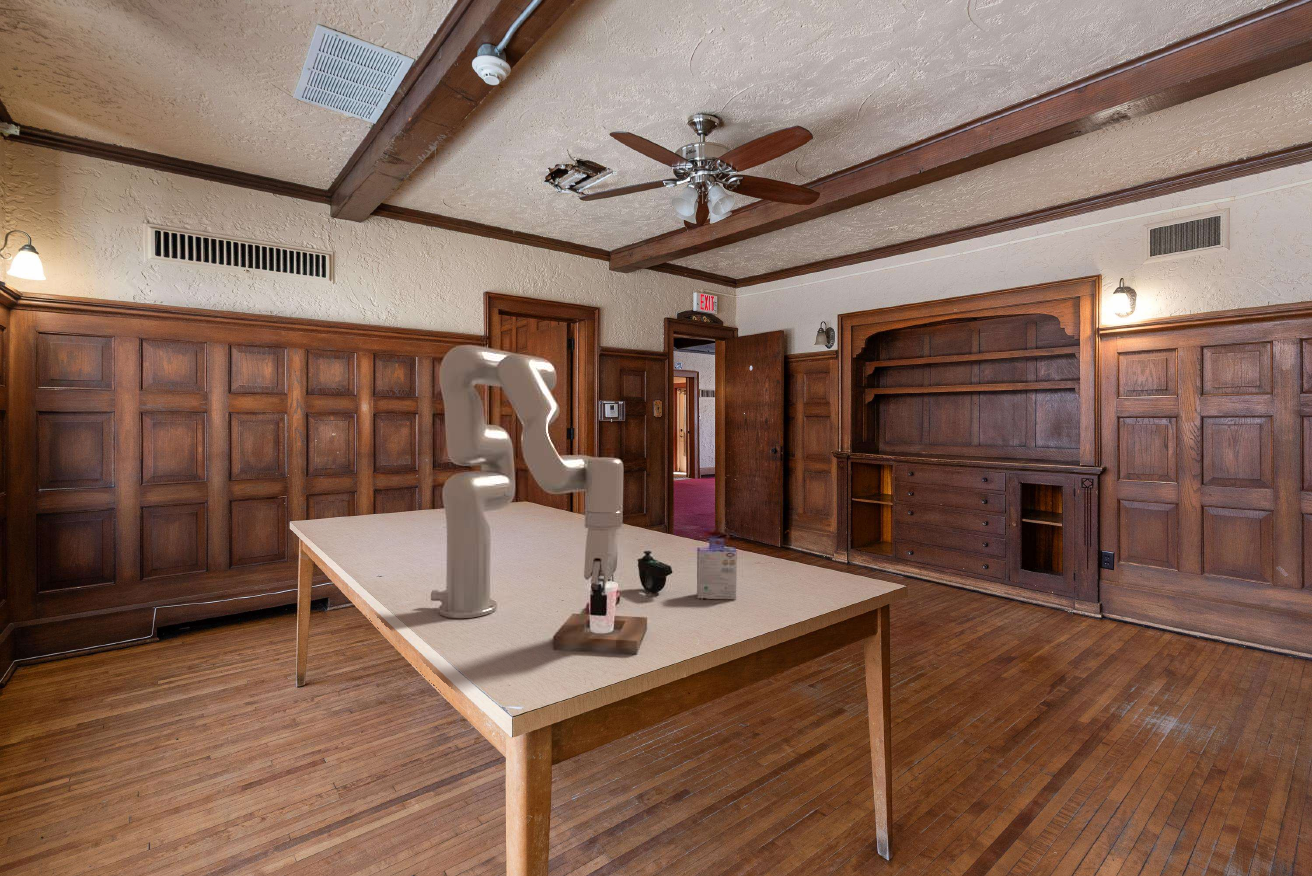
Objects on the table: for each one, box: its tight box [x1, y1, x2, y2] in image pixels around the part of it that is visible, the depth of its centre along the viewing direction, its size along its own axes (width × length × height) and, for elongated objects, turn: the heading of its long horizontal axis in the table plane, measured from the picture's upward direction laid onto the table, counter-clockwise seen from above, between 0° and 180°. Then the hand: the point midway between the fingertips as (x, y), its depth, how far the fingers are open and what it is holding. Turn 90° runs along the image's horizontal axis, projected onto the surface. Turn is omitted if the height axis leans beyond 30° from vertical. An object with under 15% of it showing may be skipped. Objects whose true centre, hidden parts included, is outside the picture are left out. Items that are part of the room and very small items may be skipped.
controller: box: [637, 550, 673, 594], centre depth 150 cm, size 4×12×10 cm, turn 32°
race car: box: [585, 589, 621, 614], centre depth 138 cm, size 13×5×4 cm, turn 165°
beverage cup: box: [586, 576, 619, 633], centre depth 116 cm, size 6×6×14 cm
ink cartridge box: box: [696, 537, 738, 600], centre depth 148 cm, size 10×6×14 cm, turn 89°
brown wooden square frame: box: [552, 612, 648, 655], centre depth 116 cm, size 16×14×2 cm
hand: (602, 609), depth 116 cm, fingers closed on beverage cup, 6 cm apart
